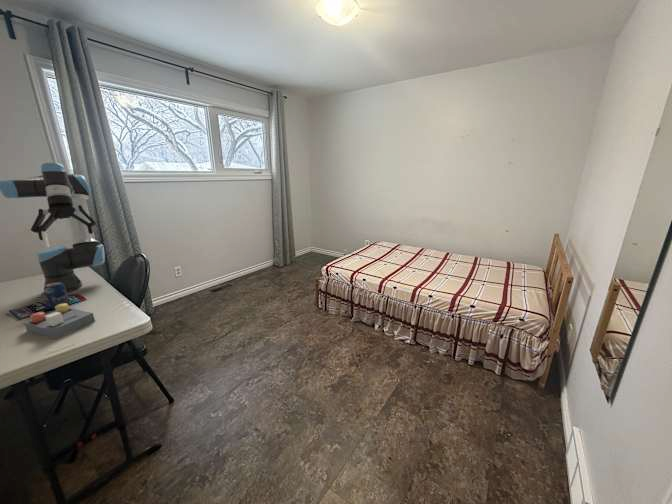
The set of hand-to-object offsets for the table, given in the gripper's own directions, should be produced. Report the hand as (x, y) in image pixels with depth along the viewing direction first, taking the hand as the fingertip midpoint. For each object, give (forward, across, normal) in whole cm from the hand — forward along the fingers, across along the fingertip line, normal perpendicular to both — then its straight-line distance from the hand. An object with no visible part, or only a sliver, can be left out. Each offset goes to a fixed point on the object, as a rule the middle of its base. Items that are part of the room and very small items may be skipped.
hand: (69, 244), depth 114 cm
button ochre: (+26, -10, +14) cm, 31 cm away
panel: (+32, -10, +10) cm, 35 cm away
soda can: (+20, -15, +31) cm, 40 cm away
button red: (+28, -16, +9) cm, 33 cm away
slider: (+31, -9, +3) cm, 33 cm away
